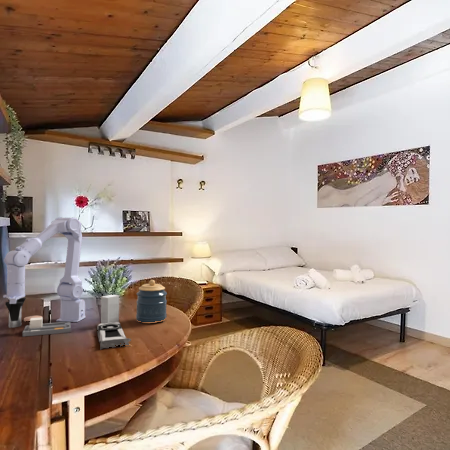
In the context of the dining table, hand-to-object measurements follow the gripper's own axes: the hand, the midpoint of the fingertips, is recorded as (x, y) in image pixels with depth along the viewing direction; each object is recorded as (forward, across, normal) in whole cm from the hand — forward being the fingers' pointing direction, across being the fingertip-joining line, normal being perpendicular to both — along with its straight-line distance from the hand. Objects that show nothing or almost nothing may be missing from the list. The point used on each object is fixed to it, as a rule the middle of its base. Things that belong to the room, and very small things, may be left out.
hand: (15, 319), depth 135 cm
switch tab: (+4, 0, +7) cm, 8 cm away
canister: (+6, -3, +51) cm, 51 cm away
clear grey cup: (+2, 0, 0) cm, 2 cm away
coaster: (+5, -20, +4) cm, 21 cm away
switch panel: (+5, 0, +11) cm, 12 cm away
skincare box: (+6, -1, +34) cm, 34 cm away
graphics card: (+6, +16, +33) cm, 38 cm away
